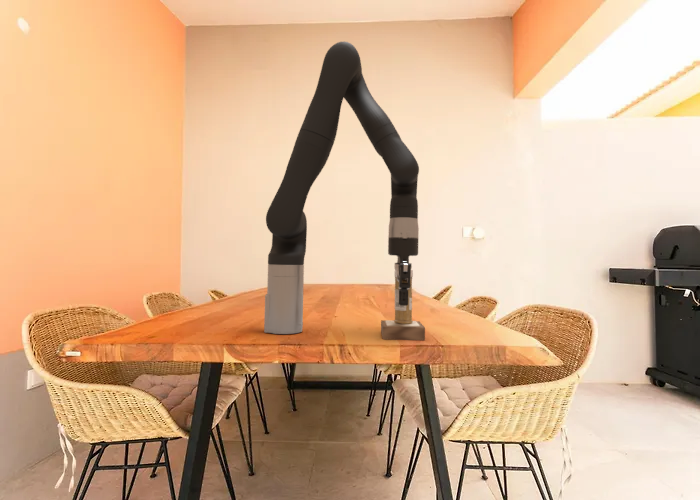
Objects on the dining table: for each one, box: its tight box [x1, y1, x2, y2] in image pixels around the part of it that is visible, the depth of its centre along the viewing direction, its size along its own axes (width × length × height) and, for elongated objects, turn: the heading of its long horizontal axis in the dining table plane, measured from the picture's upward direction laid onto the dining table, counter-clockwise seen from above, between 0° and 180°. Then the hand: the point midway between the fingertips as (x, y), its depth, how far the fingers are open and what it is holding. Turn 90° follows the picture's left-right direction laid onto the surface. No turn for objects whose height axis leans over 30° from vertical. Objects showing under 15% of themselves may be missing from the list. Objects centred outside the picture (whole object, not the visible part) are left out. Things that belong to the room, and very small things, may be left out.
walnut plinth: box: [380, 319, 426, 341], centre depth 103 cm, size 10×10×3 cm
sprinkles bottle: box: [394, 269, 414, 324], centre depth 103 cm, size 5×5×14 cm
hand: (402, 303), depth 103 cm, fingers open, 5 cm apart
